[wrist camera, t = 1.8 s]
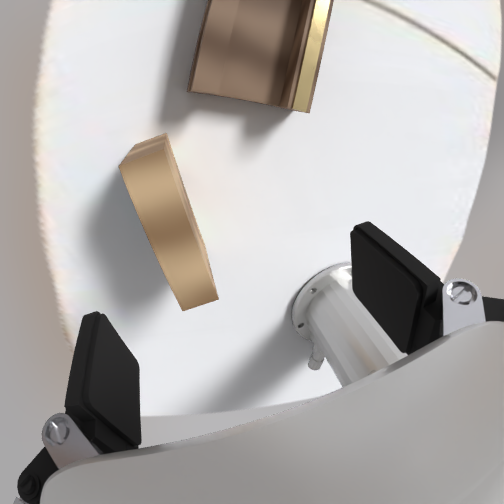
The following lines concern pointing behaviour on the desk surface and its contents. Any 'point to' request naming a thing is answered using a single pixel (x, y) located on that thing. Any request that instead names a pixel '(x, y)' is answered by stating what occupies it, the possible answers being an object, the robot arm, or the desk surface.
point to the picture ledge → (261, 51)
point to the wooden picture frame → (169, 220)
